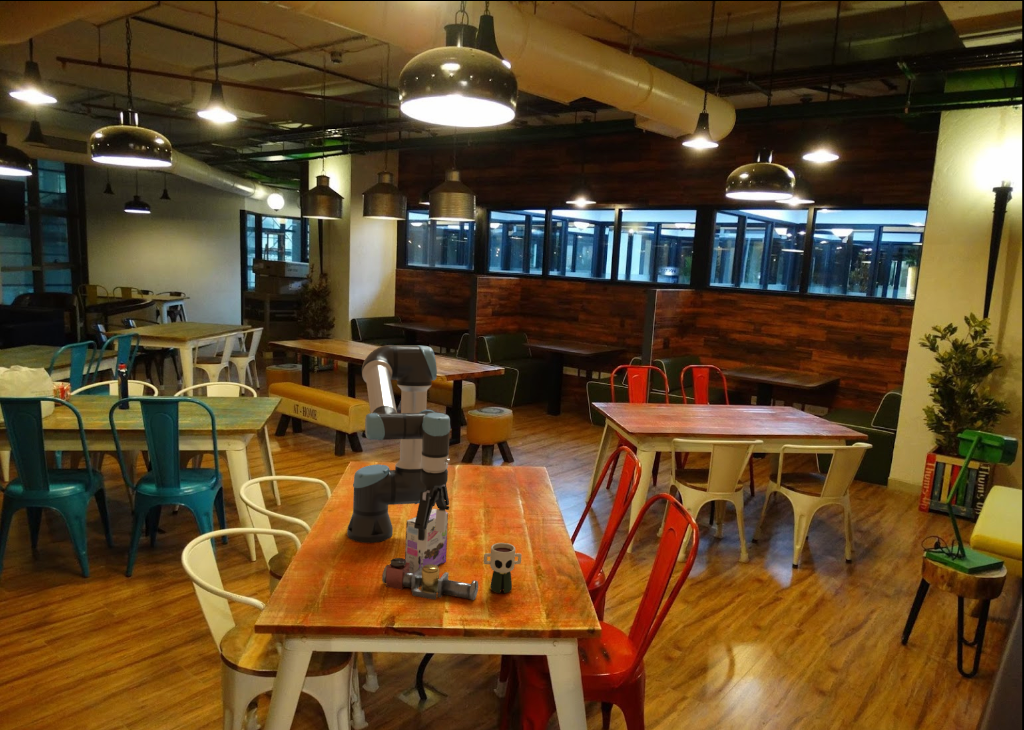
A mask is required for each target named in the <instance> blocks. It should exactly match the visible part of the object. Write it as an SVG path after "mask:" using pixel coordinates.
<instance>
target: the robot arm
mask: <svg viewBox="0 0 1024 730" xmlns="http://www.w3.org/2000/svg"><path fill="white" fill-rule="evenodd" d="M437 367H438V366H437V360H436V356H435V352H434V350H433V348H432V347H430V346H427V345H411V344H410V345H407V344H406V345H404V344H403V345H402V344H401V345H400V344H399V345H398V344H397V345H394V344H388V345H387V344H385V345H382V346H379V347H377V348H374V349H373V350H372V351H371V352H370V353H369V354H368V355H367V356H366V357H365V359H364V361H363V364H362V367H361V376H362V379H363V381H364V382H365V383H366V388H367V389H366V391H367V395H368V396H367V397H368V403H369V411H370V413H367V414H366V415H365V418H364V420H365V422H364V431H365V437H366V439H368V440H373V441H374V440H375V441H376V440H377V441H385V440H386V441H387V440H388V441H391V440H400V446H399V450H400V451H399V460H398V461H397V462H396V463H395V465H394V466H395V468H394V469H390V467H389V466H388V465H386V464H371V465H370V464H369V465H367V466H363V467H361V468H359V469H357V470H356V471H355V472H354V476H353V482H352V487H353V502H352V503H353V504H352V515H351V517H350V520H349V523H348V525H347V531H346V532H347V533H346V534H347V535H346V536H347V538H348V539H350V540H351V541H353V542H357V543H362V544H363V543H364V544H366V543H367V544H369V543H370V544H371V543H380V542H385V541H387V540H389V539H390V538H392V536H393V534H394V533H393V531H394V530H393V529H394V527H393V524H392V521H391V517H390V515H389V506H392V505H393V506H396V505H410V504H411V505H413V504H414V505H418V507H417V512H416V516H415V517H416V521H415V525H414V528H416V529H418V536H417V550H422V551H427V542H428V528H427V524H428V521H429V518H430V514H431V511H432V509H433V507H435V506H436V507H437V510H436V528H435V531H438V532H445V519H446V512H447V511H449V510H450V506H449V505H450V499H449V494H448V487H447V483H448V478H449V477H448V475H449V471H448V468H449V463H450V458H449V456H450V455H449V451H450V434H451V433H450V431H451V418H450V416H449V415H448V414H445V413H443V412H435V411H434V410H432V409H427V399H428V398H427V397H428V390H429V389H430V388H431V387H432V385H433V384H432V381H435V380H437V374H438V369H437ZM392 381H396V386H397V387H398V388H399V389H400V391H401V396H400V397H401V398H400V399H401V402H400V403H401V404H400V412H398V411H397V410H398V409H397V405H396V401H395V396H394V391H393V390H394V389H393V384H392Z"/></svg>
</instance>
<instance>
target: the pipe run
mask: <svg viewBox="0 0 1024 730" xmlns="http://www.w3.org/2000/svg"><path fill="white" fill-rule="evenodd" d="M409 570H410V563H407V562H406V560H405V558H402V557H395V558H392V559H391V560H390V563H389V564H386V566H385V567H384V569H383V572H382V574H381V580H382V583H383V584H385V587H386V588H391V589H397V590H400V591H401V590H403V589H404V588H411V589H410V590H411V591H410V592H411V593H412V596H413V597H419V598H423V599H428V600H429V599H430V600H437V598H442V597H443V596H444V595H447V596H452V597H456V598H461V599H462V598H463V599H468V600H471V601H475V599H476V598H477V595H478V592H479V582H478V580H475V579H474V580H472V581H471V583H468V582H467V583H466V582H462V581H458V580H457V581H456V580H451V579H449V572H446V571H445V572H444V573H443V574H442V575H441V577H439V580H438V593H433V592H428V591H423V590H421V589H420V588H421V578H422V568H419V569H418V570H417V571H416V572H415V573H414V574H413V573H409Z"/></svg>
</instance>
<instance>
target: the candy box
mask: <svg viewBox="0 0 1024 730" xmlns="http://www.w3.org/2000/svg"><path fill="white" fill-rule="evenodd" d="M437 509H438V508H437ZM437 509H436V508H432V511H431V514H430V518H429V521H428V524H427V528H428V542H427V551H422V550H417V536H418V529H416V528H414V525H415V521H416V516H415V517H412V518H410V519H407V520H406V526H405V528H406V529H405V547H404V548H405V550H404V551H405V552H404V553H405V554H404V559H405V560H406V562H407V563H410V570H409V573H413V574H414V573H415V572H416V571H417V570H418V569H419V568H423V566H425V565H428V564H434V565H437V566H438V567H439V566H441V565H443V564H444V563H446V562H447V549H448V547H447V546H448V545H447V543H448V524H449V523H448V521H449V520H448V518H449V512H447V511H446V519H445V532H438V531H435V528H436V510H437Z"/></svg>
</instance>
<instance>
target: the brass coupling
mask: <svg viewBox="0 0 1024 730" xmlns="http://www.w3.org/2000/svg"><path fill="white" fill-rule="evenodd" d="M439 579H440V568H439V566H437V565H434V564H428V565H425V566H423V568H422V578H421V586H420V590H423V591H428V592H433V593H436V594H438V580H439Z"/></svg>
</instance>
